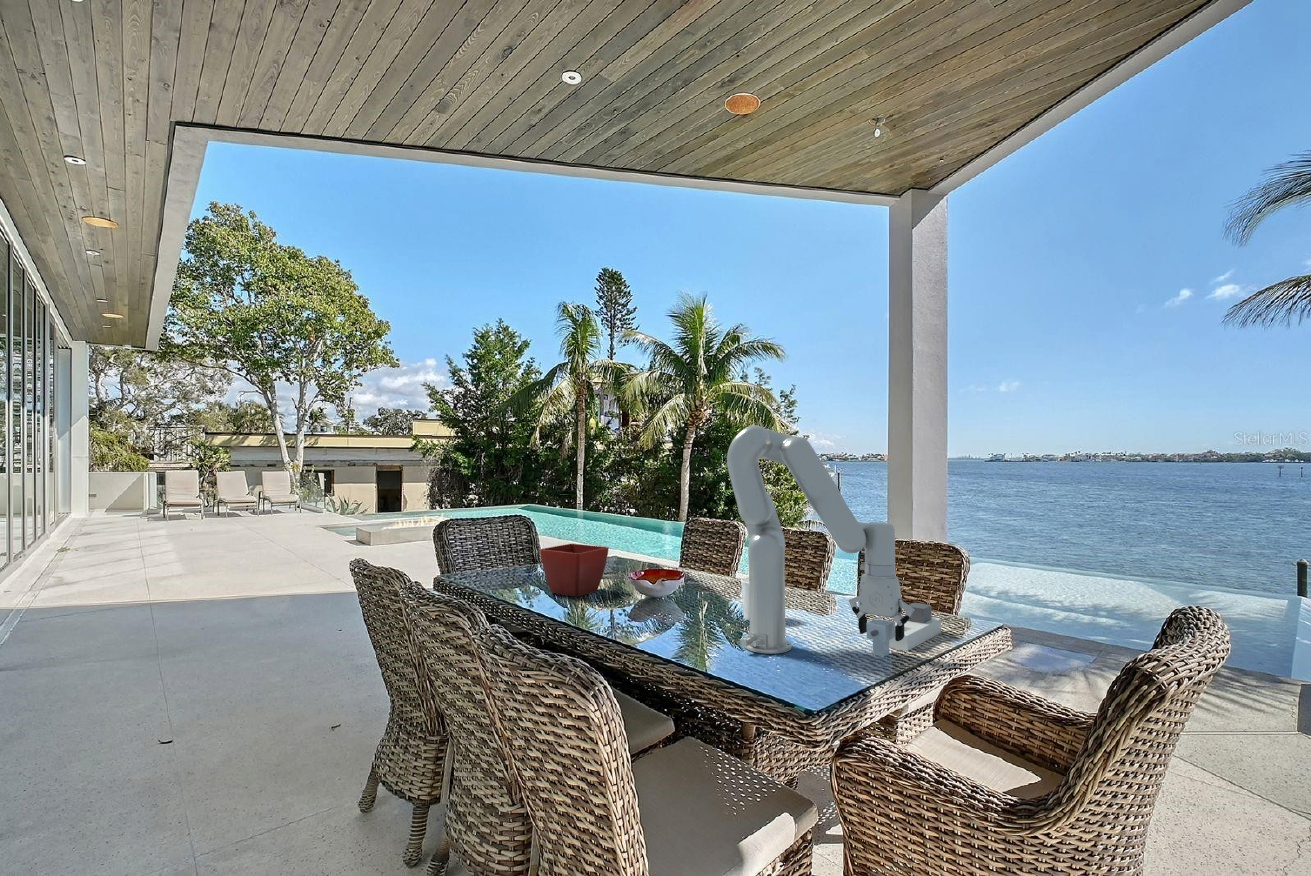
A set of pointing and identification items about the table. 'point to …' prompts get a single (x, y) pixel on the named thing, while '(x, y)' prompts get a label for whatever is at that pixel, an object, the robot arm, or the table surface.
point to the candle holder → (746, 598)
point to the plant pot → (574, 568)
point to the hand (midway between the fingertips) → (881, 636)
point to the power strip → (916, 634)
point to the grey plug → (880, 635)
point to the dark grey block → (921, 612)
